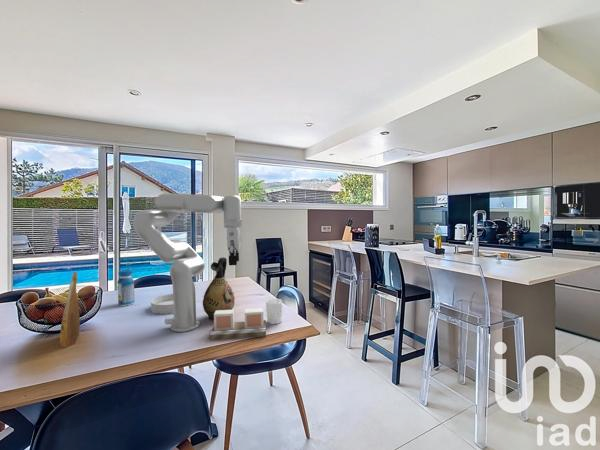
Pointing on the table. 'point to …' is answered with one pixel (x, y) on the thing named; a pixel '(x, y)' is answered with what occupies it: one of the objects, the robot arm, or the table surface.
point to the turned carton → (223, 319)
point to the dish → (163, 304)
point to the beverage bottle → (125, 288)
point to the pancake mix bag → (70, 316)
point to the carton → (254, 318)
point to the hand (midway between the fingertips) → (234, 263)
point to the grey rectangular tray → (238, 332)
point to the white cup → (274, 311)
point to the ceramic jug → (218, 291)
